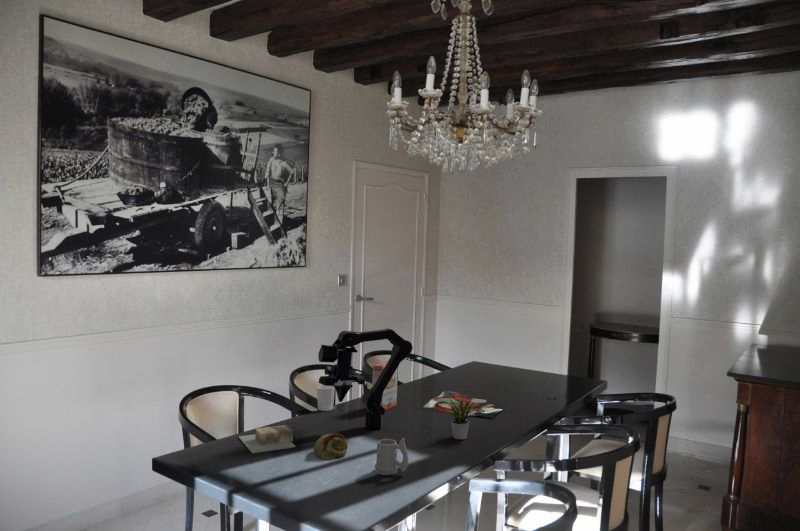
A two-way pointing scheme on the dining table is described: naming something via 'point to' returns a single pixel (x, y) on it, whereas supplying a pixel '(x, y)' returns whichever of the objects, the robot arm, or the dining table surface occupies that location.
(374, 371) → the cracker box
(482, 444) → the dining table surface
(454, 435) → the house plant
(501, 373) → the dining table surface
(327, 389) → the white cup
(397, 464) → the mug
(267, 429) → the tan rounded block
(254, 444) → the mat
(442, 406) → the multicolor patterned cloth
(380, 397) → the robot arm
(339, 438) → the pastry
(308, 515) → the dining table surface
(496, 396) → the dining table surface
